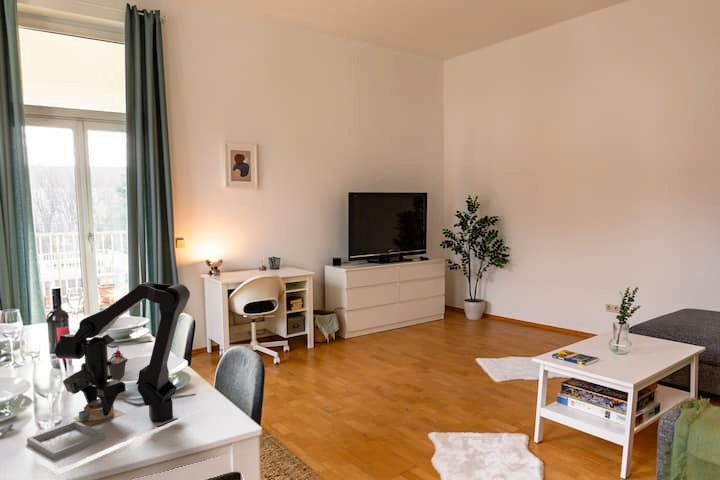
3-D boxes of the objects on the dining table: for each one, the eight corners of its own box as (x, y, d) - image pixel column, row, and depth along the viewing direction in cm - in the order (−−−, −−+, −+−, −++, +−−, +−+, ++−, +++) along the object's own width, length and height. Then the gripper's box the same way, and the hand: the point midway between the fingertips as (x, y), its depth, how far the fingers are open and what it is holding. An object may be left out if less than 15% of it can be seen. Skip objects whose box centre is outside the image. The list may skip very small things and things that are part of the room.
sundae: (120, 395, 160) (118, 349, 159) (102, 393, 162) (100, 348, 160) (133, 387, 167) (131, 343, 165) (116, 386, 168) (114, 342, 167)
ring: (117, 413, 144) (117, 403, 143) (87, 424, 136) (87, 414, 136) (104, 408, 148) (104, 398, 147) (74, 418, 140) (74, 408, 140)
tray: (104, 443, 129) (103, 433, 128) (54, 463, 119) (54, 453, 119) (76, 429, 136) (75, 420, 136) (27, 447, 126) (27, 438, 126)
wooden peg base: (126, 416, 144) (125, 399, 144) (91, 430, 136) (90, 411, 135) (107, 409, 150) (106, 391, 149) (72, 421, 141) (71, 403, 141)
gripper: (50, 360, 140) (53, 414, 141) (84, 373, 129) (87, 431, 131) (89, 350, 149) (92, 401, 150) (125, 361, 139) (127, 416, 140)
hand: (99, 412), depth 143 cm, fingers closed on ring, 7 cm apart
